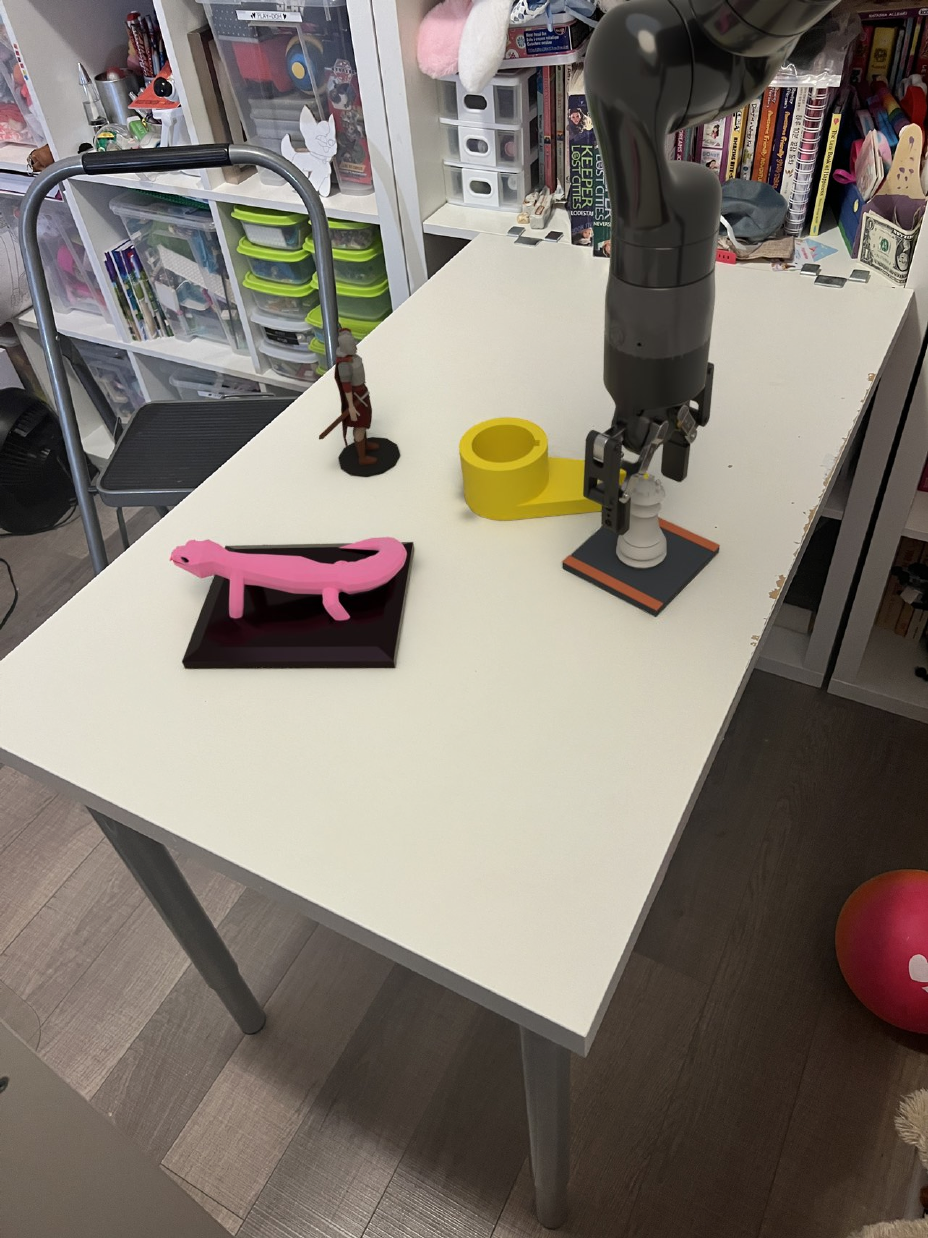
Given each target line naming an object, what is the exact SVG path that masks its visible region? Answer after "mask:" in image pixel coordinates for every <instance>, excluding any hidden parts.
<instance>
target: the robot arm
mask: <svg viewBox="0 0 928 1238" xmlns="http://www.w3.org/2000/svg"><path fill="white" fill-rule="evenodd" d="M842 1H843V0H626V1H623V2H621V3H619V4H617V5H614V6H613V7H611V8H610V9H609V10H608V11H607V12H605V13H604V15H603V16H602V17H601V18H600V19H599V21H598V22H597V24H596V25H595V28H594V30H593V32H592V34H591V36H590V39H589V42H588V45H587V47H586V52H585V56H584V63H583V73H582V75H583V76H582V77H583V79H582V80H583V90H584V97H585V102H586V106H587V110H588V113H589V118H590V122H591V125H592V129H593V133H594V136H595V140H596V144H597V148H598V153H599V158H600V161H601V167H602V172H603V177H604V181H605V185H606V189H607V195H608V201H609V206H610V220H609V221H610V223H609V224H610V225H609V226H610V236H609V266H608V275H607V281H606V288H605V295H604V327H603V328H604V329H603V369H602V370H603V371H602V372H603V374H602V380H603V384H604V387H605V390H606V391H607V392H608V394H609V396H610V397H611V399H612V401H613V403H614V406H615V408H614V413H613V415H612V418H611V422H610V427H609V428H607V429H606V430H605V431H603V432H600V431H598V430H594V429H591V430H590V431H589V432H588V433H587V435H586V437H585V445H584V446H585V447H584V460H585V465H584V486H583V496H584V497H585V498H587V499H589V500H592V501H594V502H596V503H598V504H600V505H602V511H601V515H600V517H601V518H600V519H601V521H600V522H601V527H602V526H603V527H605V528H606V529H608V530H610V531H612V532H614V533H616V534H618V535H624V534H625V533H626V532H627V531H628V530H629V526H630V507H631V497H630V495H631V493H632V491H633V488H634V486H635V483H636V481H637V478H638V477H639V476H643V475H645V474H646V472H648V470H649V467H650V464H651V462H652V460H653V458H654V455H655V452H657V450H658V449H659V448H660V446H662V450H661V451H662V452H661V466H660V473H661V475H662V476H663V477H665V478H667V479H670V480H672V481H674V482H676V483H682V482H683V481H684V480H685V479H686V478H687V477H688V471H689V462H690V455H691V453H690V452H691V444H693V443H694V442H695V440H696V438H697V437H698V430H697V429H698V427H703V428H704V427H706V426H707V425H708V423H709V421H710V417H711V408H712V398H713V397H712V396H713V384H714V373H715V364H714V363H712V362H710V361H709V356H710V349H711V348H710V347H711V337H712V329H713V322H714V313H715V304H716V262H717V253H718V245H719V236H720V228H721V218H722V206H723V188H722V185H721V184H722V183H721V180H720V179H719V177H718V175H717V174H716V173H715V171H713V170H712V169H711V168H709V167H708V166H706V165H704V164H701V163H699V162H694V161H688V160H680V159H668V158H667V152H666V143H667V138H668V135H672V134H676V133H679V132H682V131H686V130H690V129H693V128H697V127H700V126H703V125H707V124H710V123H711V124H712V123H714V122H717V121H721V120H723V119H725V118H728V117H730V116H732V115H734V114H736V113H738V112H739V111H741V110H742V109H744V108H746V107H747V106H748V105H750V104H751V103H752V102H754V101H755V100H757V99H758V98H759V97H760V96H761V95H762V94H763V93H764V92H765V91H766V90H767V88H768V87H769V86H770V85H771V84H772V82H773V81H774V79H775V77H777V75H778V73H779V71H781V68H782V67H783V66H784V65H785V62H786V61H787V59H788V58H789V57H790V55H791V54H792V52H793V51H794V50H795V48H796V46H797V44H798V42H799V41H800V39H801V37H802V35H803V34H805V32H807V31H809V30H810V29H811V28H812V27H813V26H814V25H816V24H817V23H818V22H819V21H820V20H822V19H823V18H824V17H825V16H826V15H827V14H828V13H830V11H832V10H833V9H834V8H835V7H836V6H837V5H838V4H840V3H841V2H842ZM691 401H692V402H695V403H696V404H697V406H698V407H697V408H696V407H693V406H691ZM623 448H624V449H625V450H626V451H627V452H630V453H632V454H635V455H637V456H638V458H637V460H636V461H635V462H634V461H631V460H629V459H627V458H624V457H625V452H624V451H623ZM620 469H622V470H625V472H626V476H625V478H624V481H623V483H622V485H620V484H619V478H620ZM598 480H599V483H598ZM597 483H598V484H597Z"/></svg>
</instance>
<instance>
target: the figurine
mask: <svg viewBox="0 0 928 1238" xmlns="http://www.w3.org/2000/svg"><path fill="white" fill-rule="evenodd" d="M337 343H338V345H339V346H338V347H336V350H335V356H336V360H335V366H334V374H333V375H334V376H333V378H334V381H335V383H336V387H337V389H338V392H339V398H340V408H341V409H340V413H341V414H340V415H339V416H338V417H337V418H336V419H335V420H333V422H332V423H330V424H329V426H327V428H325V429H324V430H323V431H322V432H321V433H320V434H319V435H318V440H324V439H325V438H326V437H327V436H328V435H329V434H330V433H331V432H332V431H333V430H335V428H337V427H338V426H339V425H340V424H341V428H342V438H343V441H344V446H345V447H343V448H342V451H341V452H340V454H339V456H338V457H337V459H338V462H339V467H340V470H341V471H343V472H345V473H346V474H348V475H349V476H351V477H352V476H353V477H361V478H369V477H373V476H377V475H382V474H384V473H386V472H387V471H389V470H390V469H392V468H394V467H395V466H396V465H397V463H398V462H399V459H400V458H401V452H400V449H399V446H398V444H397V443H396V442H395V441H392V440H391V439H389V438H387V437H379V436H378V437H377V436H370V437H368V433H367V430H369V429H371V427H372V419H373V408H372V402H371V396H370V394H371V393H370V391H369V387H368V386H367V385H366V383H367V381H366V372H365V367H364V363H363V358H362V357H361V356H360V355H359V354H357V353H358V346H357V344H356V339H355V336H354V335H353V332H352V330H351V329H350V328H349V327H342V328H340V329H338V336H337ZM348 428H352V437H353V442H351V443H348V439H347V434H348Z"/></svg>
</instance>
